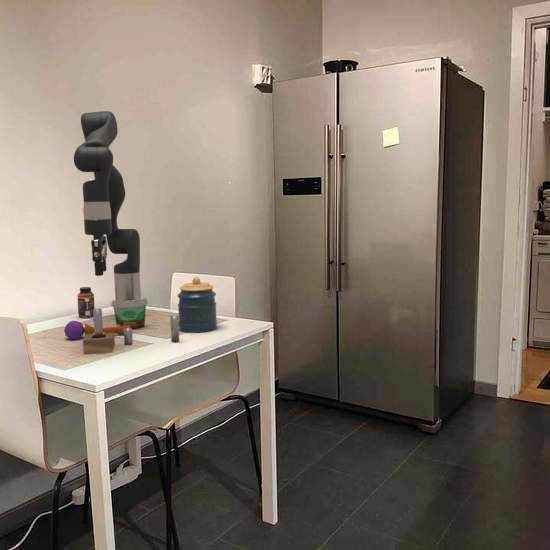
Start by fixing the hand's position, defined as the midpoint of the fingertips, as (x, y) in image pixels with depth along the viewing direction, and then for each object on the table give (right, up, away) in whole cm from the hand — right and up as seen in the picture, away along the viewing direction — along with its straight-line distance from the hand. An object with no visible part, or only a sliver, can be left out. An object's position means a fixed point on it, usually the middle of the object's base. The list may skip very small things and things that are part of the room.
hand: (101, 273), depth 161 cm
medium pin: (+20, -21, +9) cm, 30 cm away
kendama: (-6, -21, +17) cm, 28 cm away
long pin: (-1, -22, +1) cm, 22 cm away
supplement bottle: (-21, -17, +49) cm, 55 cm away
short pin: (+6, -22, +7) cm, 23 cm away
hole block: (-1, -22, +1) cm, 22 cm away
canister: (+25, -19, +26) cm, 41 cm away
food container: (+2, -19, +28) cm, 34 cm away
